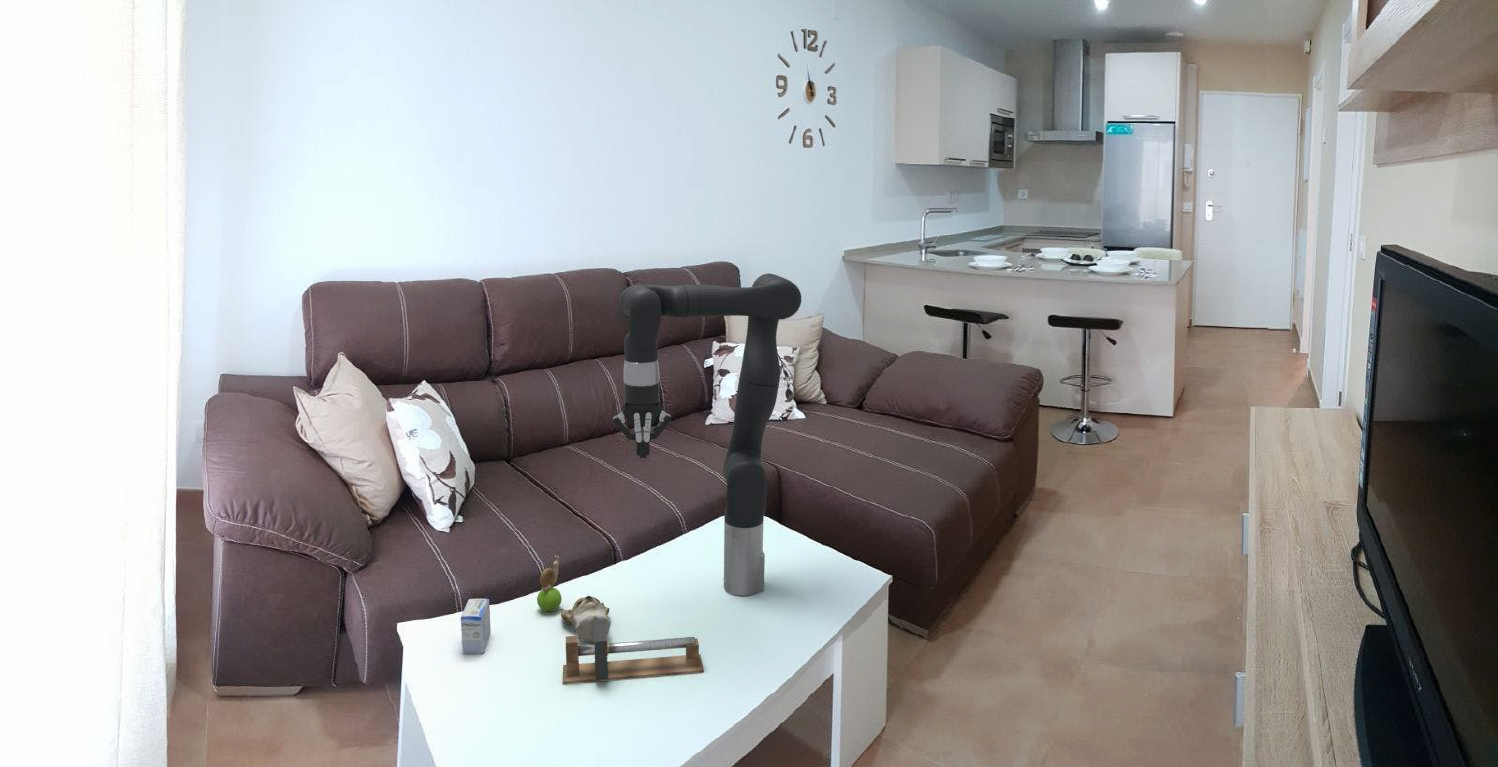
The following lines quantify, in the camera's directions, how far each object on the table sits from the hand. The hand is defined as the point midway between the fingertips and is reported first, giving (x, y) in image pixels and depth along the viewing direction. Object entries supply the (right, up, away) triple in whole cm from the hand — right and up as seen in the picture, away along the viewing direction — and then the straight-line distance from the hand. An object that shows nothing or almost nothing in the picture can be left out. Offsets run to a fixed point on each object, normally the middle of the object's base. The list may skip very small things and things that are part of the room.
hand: (642, 457), depth 204 cm
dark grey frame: (-7, -41, -15) cm, 44 cm away
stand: (0, -42, -14) cm, 44 cm away
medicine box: (-34, -39, -5) cm, 53 cm away
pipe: (0, -38, -15) cm, 41 cm away
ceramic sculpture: (-12, -38, +1) cm, 40 cm away
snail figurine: (-22, -36, +10) cm, 43 cm away
